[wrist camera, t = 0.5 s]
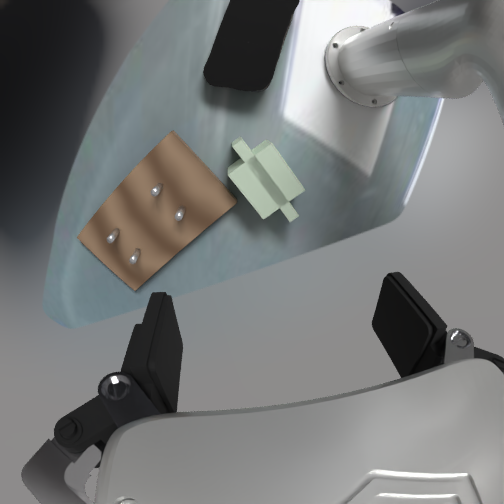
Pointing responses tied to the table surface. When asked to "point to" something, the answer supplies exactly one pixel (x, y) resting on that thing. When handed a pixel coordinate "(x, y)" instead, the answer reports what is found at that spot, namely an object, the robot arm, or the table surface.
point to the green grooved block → (265, 179)
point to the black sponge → (249, 44)
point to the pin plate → (156, 212)
